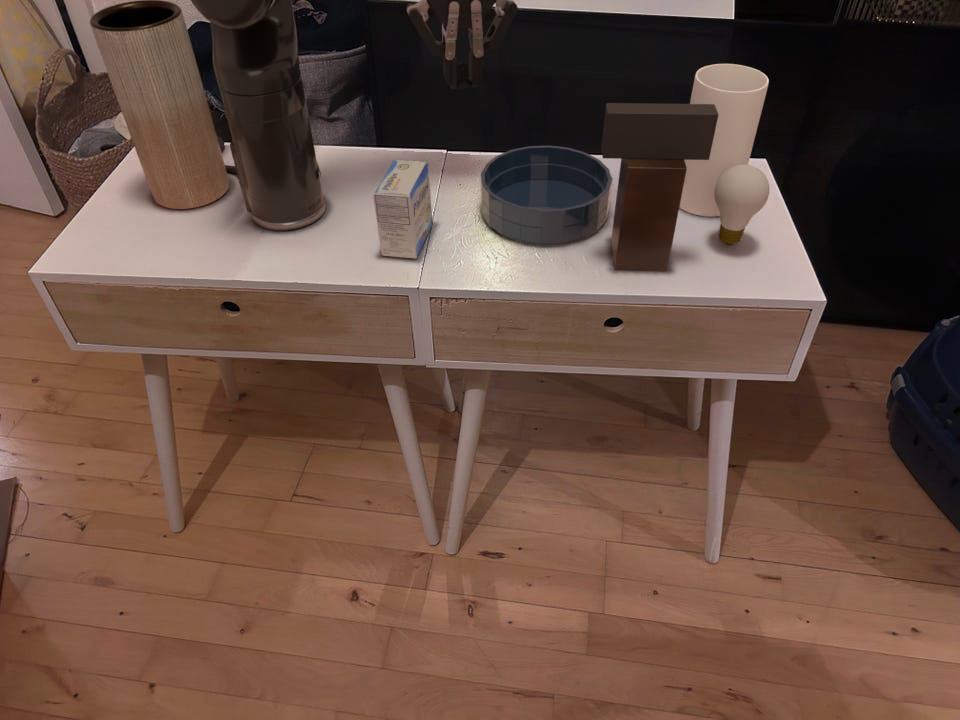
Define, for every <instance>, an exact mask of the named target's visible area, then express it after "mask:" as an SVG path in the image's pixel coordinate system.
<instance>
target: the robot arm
mask: <svg viewBox="0 0 960 720" xmlns="http://www.w3.org/2000/svg"><path fill="white" fill-rule="evenodd" d="M190 1H191V3H192V5H193V6H194V8H195V9H196V10H197V11H198V13H200V14H201V16H202V17H203V18H204V19H206V20H207V21H208V22H209V24H210V29H211V37H212V38H211V39H212V66H213V67H212V68H213V71H214V75H215V80H216V84H217V85H218V91H219V94H220V97H221V102H222V105H223V109H224V112H225V115H226V120H227V124H228V127H229V132H230V135H231V139H232V140H231V141H230V143H229V149H230V153H231V156H232V160H233V163H234V165H227V164H225V167H226V171H227V173H234V174H236V175H237V179H238V182H239V187H240V190H241V194H242V198H243V202H244V204H245V205H244V206H245V208H246V212H248V213H249V214H250V215H251V218H252V221H253V222H254V223H255V224H256V225H257V226H259V227H262V228H264V229H268V230H274V231H288V230H289V231H290V230H295V229H300V228H303V227H306V226H308V225H311V224H313V223H314V222H316V221H318V220H319V219H320V218H321V217H322V216H323V215H324V213H325V211H326V207H327V206H326V199H325V196H324V192H323V187H322V182H321V180H323V179H322V173H321V169H320V166H319V163H318V159H317V154H316V150H315V149H316V148H315V143H314V138H313V132H312V128H311V127H312V126H311V122H310V121H311V120H310V117H309V110H308V105H307V100H306V96H305V91H304V90H305V89H304V84H303V79H302V74H301V73H302V72H301V68H300V67H301V66H300V61H299V43H298V41H299V40H298V32H297V31H298V30H297V26H296V20H295V14H294V7H293V1H292V0H190ZM493 7H495V8H494V12H495V17H494V18H493V20H492V22H491V24H490V26H489V28H488V30H487V32H486V34H485V36H484V29H483V23H484V21H485V19H486V18H487V16H488V15H489V13H490V12H491V10H492V9H493ZM518 8H519V7H518V5H517V3H516V2H515V0H419V1H418V2H415V4H414V3H409V4H407V6H406V9H405V10H406V12H407V15H408V17H409V20H410V21H411V23H412V24H413V26H414V28H415V29H416V31H417V33H418V35H419V36H420V38H421V40H422V41H423V43H424V44H425V47H426V48H427V50H428V51H429V54H431V56H433V57H437V56H439V57H442V65H443V66H442V67H443V78H444V81H445V83H446V85H449V87H450V89H451V90H457V89H458V88H457V80H458V60H457V58H456V43H457V40H458V31H459V30H460V29H464V28H465V29H467V31H468V38H469V48H470V51H469V52H468V80H470V82H471V86H470V87H471V88H478V86H479V83H482V81H483V78H484V75H483V74H484V56H485V55H486V54H487V53H489V52H496V51H497V50H498V49H499V46H500V45H501V42H502V41H503V39H504V37H505V35H506V33H507V31H508V29H509V27H510V25H511V23H512V22H513V19H514V17H515V16H516V13H517V12H518ZM429 9H431V10H432V12H433V13H434V14H435V16H436V17H437V19H438V20H439V22H441V25H442V26H441V33H442V36H441V37H442V38H441V41H439V40H436V38H435V36H434V34H433V32H432V31H431V30H430V28H429V26H428V25H427V23H426V22H428V21H429V19H430V17H429V13H428V10H429ZM216 135H217V134H216ZM217 138H218V142H219V146H220V149H221V152H223V150H224V148H225V141H224V140H223V138H222V137H220V136H219V135H217Z"/></svg>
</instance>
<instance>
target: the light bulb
mask: <svg viewBox="0 0 960 720" xmlns="http://www.w3.org/2000/svg"><path fill="white" fill-rule="evenodd" d="M769 195H770V183H769V180H768V177H767V176H766V174H765V173H764V172H763V171H762V170H761V169H759V167H757V166H754V165H751V164H748V165H737V166H734V167H731V168H729V169H728V170H726V171H725V172H724V173H723V174H722V175H721V176H720V177H719V179H718V181H717V183H716V186H715V190H714V197H715V201H716V204H717V206H718V208H719V211H720V216H719V222H720V225H719V230H718V240H720V241H721V242H722V243H723V244H725V245H726V246H733V245H735V244H739V243H740V242H741V241H742V239H743V234H744V233H745V229H746V227H747V226H748V224H749V223H750V221H751V220H752V218H753V217H754V216H756V214H758V213H760V211H761V210H762V209H763V208H764V206H765V205H766V203H767V201H768V200H769Z"/></svg>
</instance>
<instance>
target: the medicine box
mask: <svg viewBox="0 0 960 720" xmlns="http://www.w3.org/2000/svg"><path fill="white" fill-rule="evenodd" d="M373 204H374V212H375V217H376V224H377V231H378V238H379V244H380V245H379V246H380V251H381V252H380V253H381V255H382V256H384V257H392V258H393V257H395V258H406V259H415V260H416V259H417V258H418V257H419V254H420V252H421V250H422V249H423V245H424V243H425V241H426V239H427V237H428V235H429V233H430V230H431V229H432V225H433V223H434V222H433V211H432V198H431V186H430V172H429V164H428V163H427V162H425V161H418V160H406V159H397V160H396V159H394V160H393V161H392V163H391V165H390V166H389V168H388V169H387V171H386V172H385V174H384V176H383V178H382V179H381V180H380V182H379V184H378V186H377V188H376V189H375V191H374V192H373Z"/></svg>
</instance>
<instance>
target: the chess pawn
mask: <svg viewBox="0 0 960 720" xmlns="http://www.w3.org/2000/svg"><path fill="white" fill-rule="evenodd" d="M458 69H459V76H458V78H457V89H459V90H460V89H461V90H466V89H471V87H472V86H471V82H470V80H469V78H468V77H467V75H466V73H467V70H466V69H467V64H466V62H463V61H462V62H460V63H459V64H458Z"/></svg>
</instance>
